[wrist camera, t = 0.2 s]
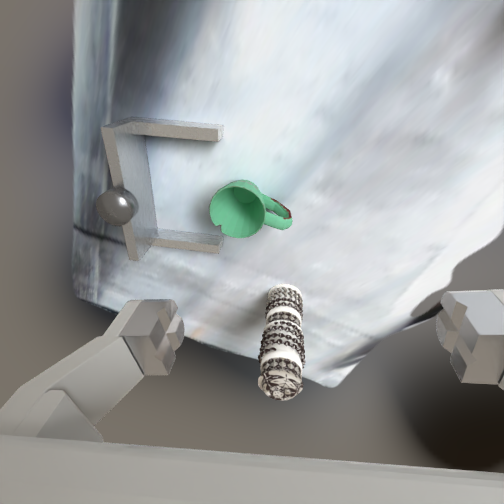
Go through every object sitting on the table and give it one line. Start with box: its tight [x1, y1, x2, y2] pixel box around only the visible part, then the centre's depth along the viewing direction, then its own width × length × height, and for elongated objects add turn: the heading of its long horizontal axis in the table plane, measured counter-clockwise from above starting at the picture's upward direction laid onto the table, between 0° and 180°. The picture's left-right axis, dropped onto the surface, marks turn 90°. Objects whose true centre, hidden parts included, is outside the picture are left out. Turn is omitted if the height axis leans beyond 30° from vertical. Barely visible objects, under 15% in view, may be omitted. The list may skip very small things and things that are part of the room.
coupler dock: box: [96, 117, 223, 261], centre depth 54 cm, size 19×25×13 cm
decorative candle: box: [258, 284, 305, 401], centre depth 61 cm, size 9×9×25 cm
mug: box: [209, 180, 292, 238], centre depth 54 cm, size 15×10×10 cm
